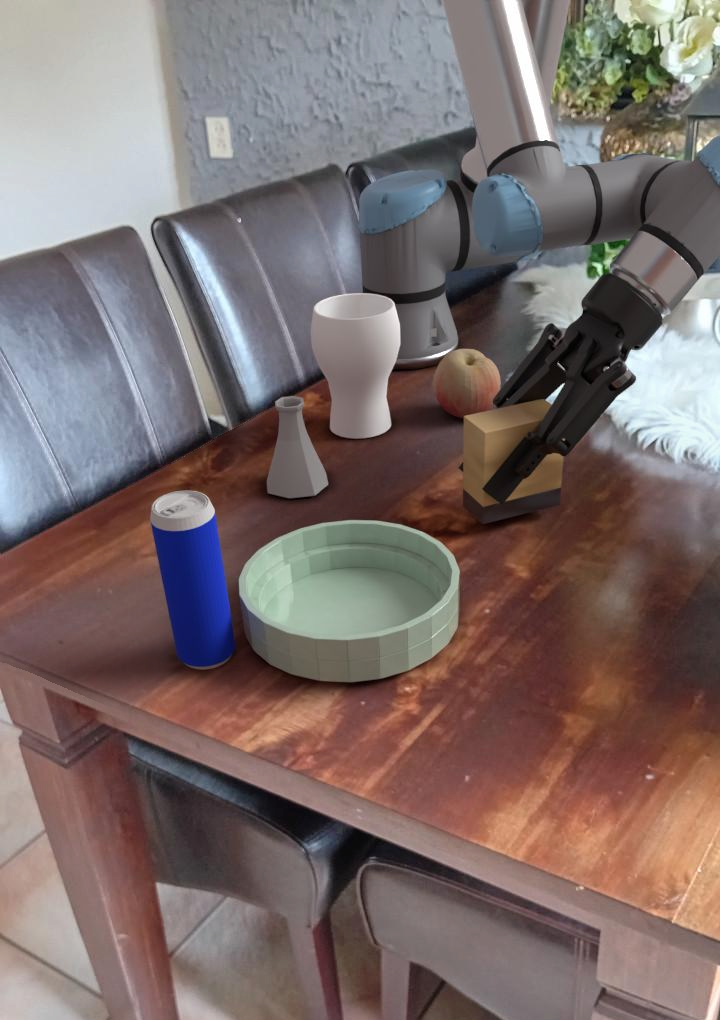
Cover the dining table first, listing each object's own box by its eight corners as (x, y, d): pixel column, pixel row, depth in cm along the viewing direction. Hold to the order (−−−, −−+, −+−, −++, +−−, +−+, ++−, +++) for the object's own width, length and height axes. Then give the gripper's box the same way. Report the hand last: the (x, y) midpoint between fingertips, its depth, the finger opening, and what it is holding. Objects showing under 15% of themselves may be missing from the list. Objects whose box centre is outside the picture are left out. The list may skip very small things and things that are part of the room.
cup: (304, 438, 123) (293, 317, 114) (338, 405, 131) (330, 288, 122) (385, 449, 120) (380, 324, 111) (414, 413, 128) (412, 294, 119)
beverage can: (212, 630, 91) (187, 482, 82) (248, 653, 88) (226, 501, 79) (166, 656, 88) (134, 505, 79) (201, 680, 85) (173, 526, 76)
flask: (321, 502, 110) (314, 416, 104) (257, 498, 111) (247, 414, 105) (335, 472, 116) (329, 389, 110) (275, 469, 117) (266, 387, 111)
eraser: (537, 486, 107) (543, 398, 101) (560, 504, 104) (566, 414, 98) (462, 505, 105) (463, 415, 99) (482, 524, 101) (484, 432, 96)
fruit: (455, 432, 123) (455, 369, 118) (423, 410, 128) (422, 349, 124) (510, 418, 125) (513, 355, 120) (477, 396, 131) (478, 336, 126)
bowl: (270, 561, 100) (264, 517, 97) (464, 567, 98) (465, 522, 95) (222, 682, 85) (214, 634, 82) (451, 693, 82) (451, 644, 79)
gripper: (713, 344, 92) (545, 542, 97) (605, 293, 105) (463, 469, 111) (672, 296, 87) (499, 505, 93) (565, 249, 101) (419, 434, 106)
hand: (480, 485), depth 102 cm, fingers closed on eraser, 4 cm apart
